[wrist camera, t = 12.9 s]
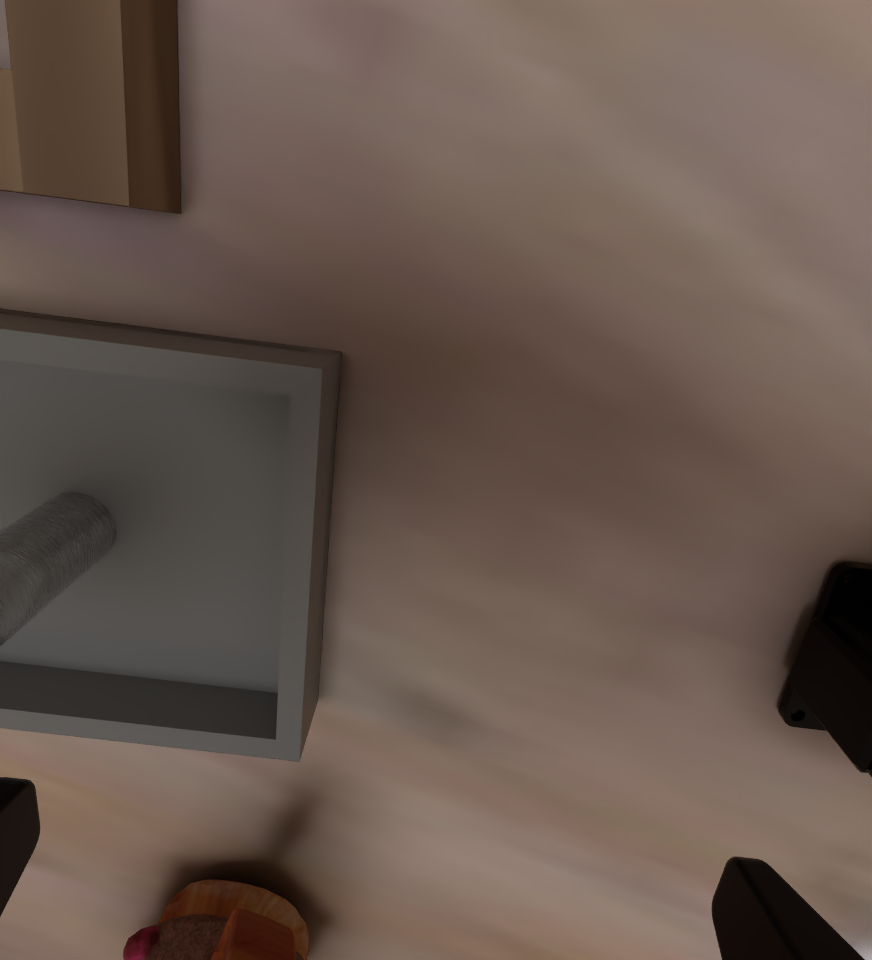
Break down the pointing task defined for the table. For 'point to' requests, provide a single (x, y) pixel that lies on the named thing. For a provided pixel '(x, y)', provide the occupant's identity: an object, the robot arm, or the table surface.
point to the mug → (223, 926)
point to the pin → (49, 555)
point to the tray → (172, 532)
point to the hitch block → (92, 102)
